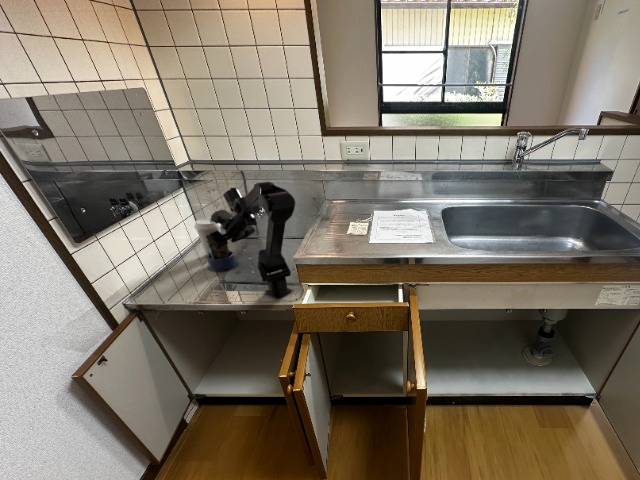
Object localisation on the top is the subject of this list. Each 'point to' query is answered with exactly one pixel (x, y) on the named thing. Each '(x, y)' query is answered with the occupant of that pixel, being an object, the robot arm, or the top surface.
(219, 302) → the top surface
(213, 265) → the blue rimmed bowl
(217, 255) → the supplement container
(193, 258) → the top surface
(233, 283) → the top surface
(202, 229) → the coffee cup
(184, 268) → the top surface
